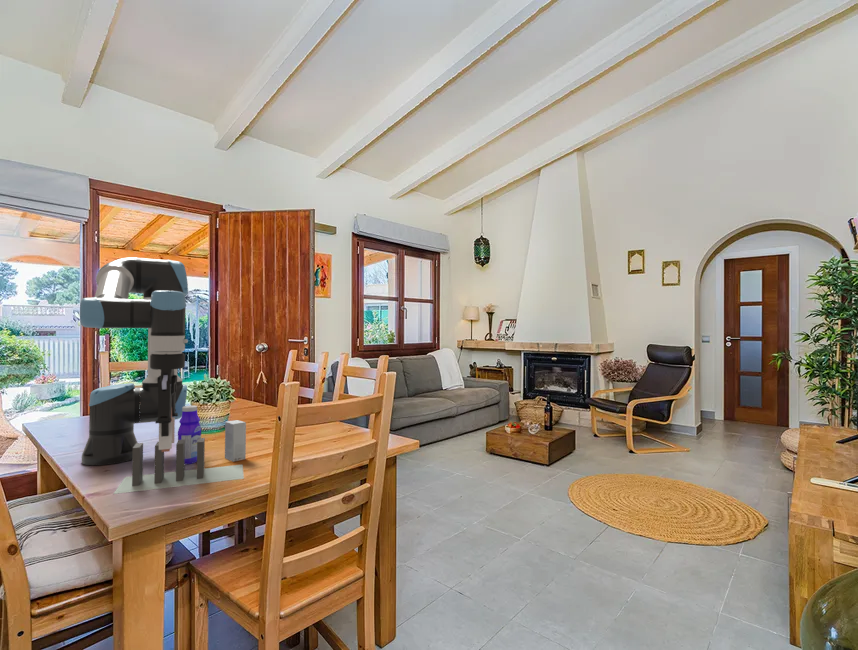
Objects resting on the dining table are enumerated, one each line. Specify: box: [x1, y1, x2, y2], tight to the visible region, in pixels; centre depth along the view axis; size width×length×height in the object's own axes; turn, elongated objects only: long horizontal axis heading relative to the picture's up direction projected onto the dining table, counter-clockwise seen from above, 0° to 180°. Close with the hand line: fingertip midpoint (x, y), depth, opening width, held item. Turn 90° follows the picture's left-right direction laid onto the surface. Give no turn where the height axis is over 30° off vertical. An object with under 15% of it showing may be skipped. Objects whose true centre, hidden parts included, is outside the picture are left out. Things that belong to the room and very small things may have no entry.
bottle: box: [177, 405, 202, 465], centre depth 140 cm, size 7×6×17 cm
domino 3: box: [175, 439, 186, 481], centre depth 124 cm, size 2×5×10 cm, turn 24°
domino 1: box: [131, 442, 144, 486], centre depth 120 cm, size 2×5×10 cm, turn 24°
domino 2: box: [154, 441, 165, 484], centre depth 122 cm, size 2×5×10 cm, turn 24°
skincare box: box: [224, 419, 247, 462], centre depth 143 cm, size 6×4×12 cm
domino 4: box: [196, 437, 206, 479], centre depth 126 cm, size 2×5×10 cm, turn 24°
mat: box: [113, 463, 245, 495], centre depth 124 cm, size 30×14×1 cm, turn 114°
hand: (166, 445), depth 112 cm, fingers closed on end domino, 5 cm apart
